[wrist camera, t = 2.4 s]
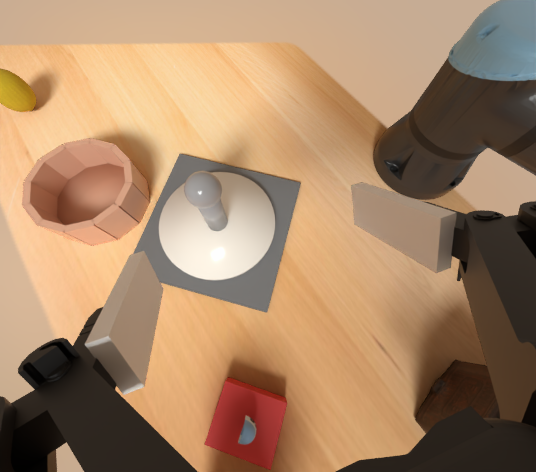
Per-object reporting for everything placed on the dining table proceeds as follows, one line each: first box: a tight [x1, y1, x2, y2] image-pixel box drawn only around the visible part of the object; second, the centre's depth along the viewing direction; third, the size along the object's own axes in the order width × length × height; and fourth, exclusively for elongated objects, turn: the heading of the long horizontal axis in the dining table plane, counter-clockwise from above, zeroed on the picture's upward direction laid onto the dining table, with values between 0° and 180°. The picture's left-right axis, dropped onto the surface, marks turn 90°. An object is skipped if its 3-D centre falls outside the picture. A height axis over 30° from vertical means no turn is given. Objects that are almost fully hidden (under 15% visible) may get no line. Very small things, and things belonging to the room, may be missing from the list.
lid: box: [159, 171, 275, 281], centre depth 34 cm, size 18×18×13 cm
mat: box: [133, 154, 301, 312], centre depth 41 cm, size 22×22×1 cm
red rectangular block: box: [205, 377, 287, 470], centre depth 30 cm, size 8×7×6 cm
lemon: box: [0, 69, 36, 112], centre depth 45 cm, size 6×6×8 cm
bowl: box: [22, 138, 150, 246], centre depth 39 cm, size 15×15×6 cm
